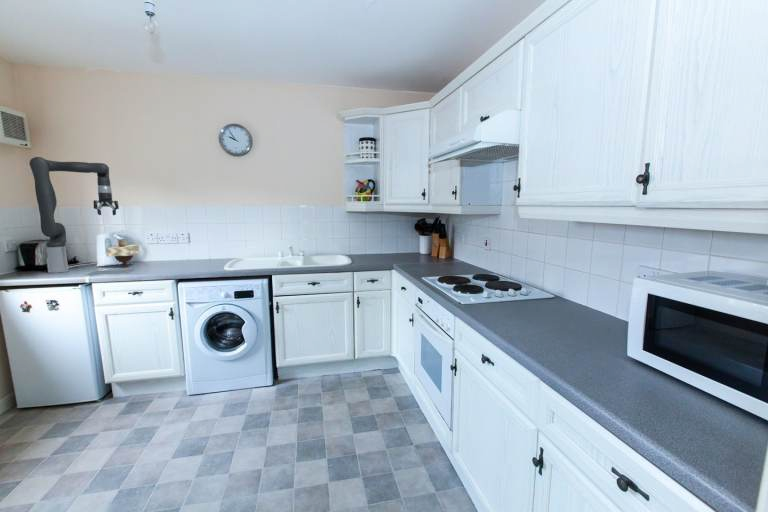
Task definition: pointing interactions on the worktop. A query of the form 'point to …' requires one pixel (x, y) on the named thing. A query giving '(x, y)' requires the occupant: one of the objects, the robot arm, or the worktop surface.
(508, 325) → the worktop surface
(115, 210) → the robot arm
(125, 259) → the ice cream bowl
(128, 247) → the lid
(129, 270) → the mat
